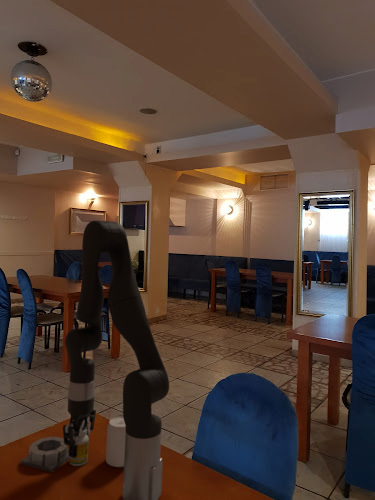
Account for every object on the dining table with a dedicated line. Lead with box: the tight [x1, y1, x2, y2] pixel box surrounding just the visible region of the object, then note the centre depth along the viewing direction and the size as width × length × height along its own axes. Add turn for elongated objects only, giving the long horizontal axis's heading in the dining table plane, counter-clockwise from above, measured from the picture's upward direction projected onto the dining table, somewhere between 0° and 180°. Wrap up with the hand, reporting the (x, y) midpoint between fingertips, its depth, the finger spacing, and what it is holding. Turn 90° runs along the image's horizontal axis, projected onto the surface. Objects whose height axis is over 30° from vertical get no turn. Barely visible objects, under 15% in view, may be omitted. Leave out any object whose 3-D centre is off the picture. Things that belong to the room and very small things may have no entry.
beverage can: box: [105, 416, 126, 468], centre depth 119 cm, size 8×8×12 cm
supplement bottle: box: [68, 428, 90, 467], centre depth 118 cm, size 5×5×10 cm
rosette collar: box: [20, 436, 69, 473], centre depth 119 cm, size 11×11×4 cm
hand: (78, 451), depth 118 cm, fingers closed on supplement bottle, 5 cm apart
